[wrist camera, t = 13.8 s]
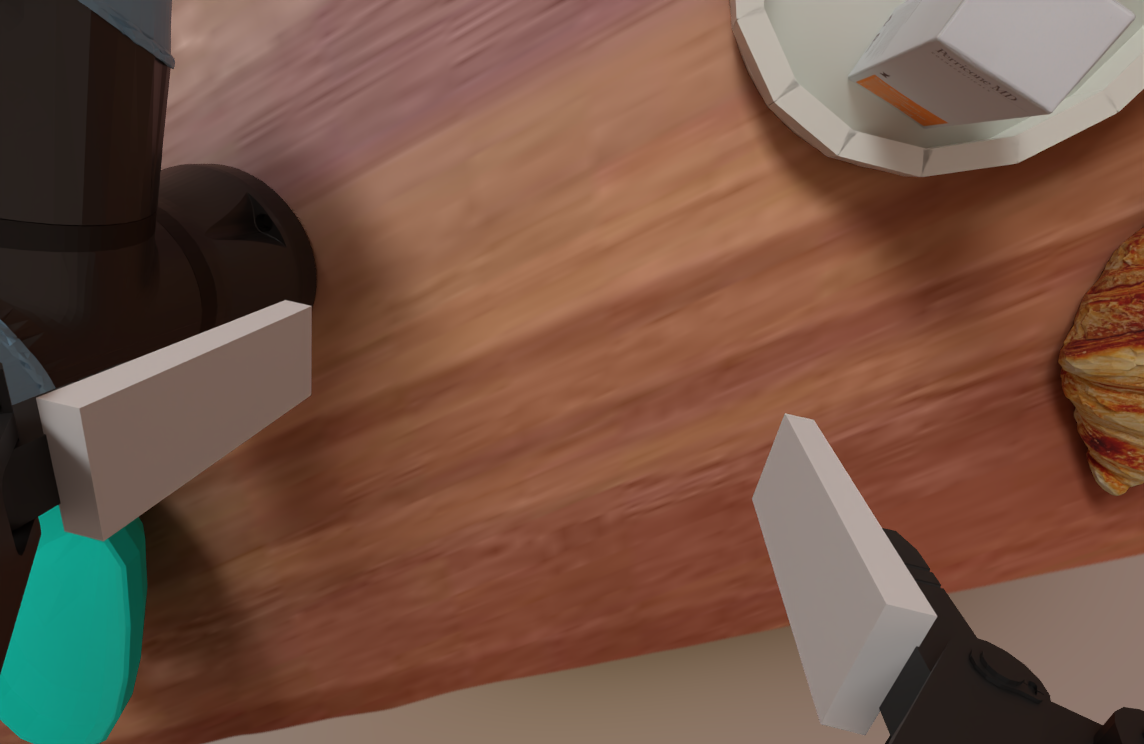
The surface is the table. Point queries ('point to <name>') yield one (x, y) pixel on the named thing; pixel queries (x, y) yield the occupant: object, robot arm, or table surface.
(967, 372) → the table surface
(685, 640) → the table surface
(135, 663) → the table top decor
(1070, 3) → the skincare box
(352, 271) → the table surface
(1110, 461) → the croissant
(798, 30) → the ring tray
